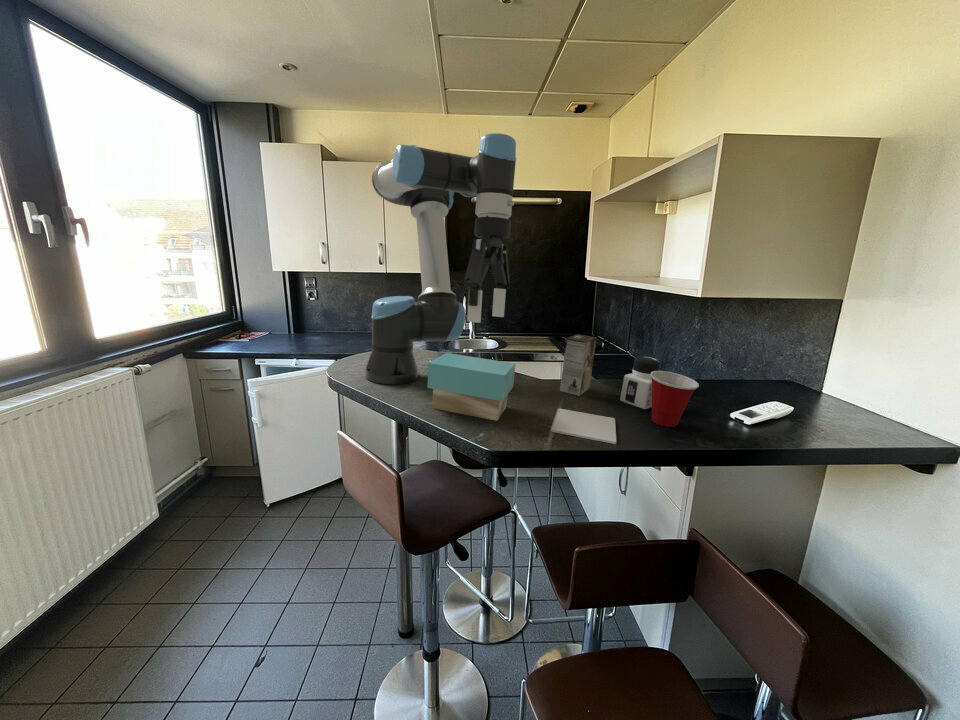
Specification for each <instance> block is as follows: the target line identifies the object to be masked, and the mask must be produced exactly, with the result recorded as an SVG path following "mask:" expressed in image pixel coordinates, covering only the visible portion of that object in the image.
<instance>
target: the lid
mask: <svg viewBox="0 0 960 720" xmlns="http://www.w3.org/2000/svg"><path fill="white" fill-rule="evenodd" d="M515 371H516V363H515V362H507V361H502V360H496V359H489V358H482V357H476V356H471V355H469V356H468V355H463V354H456V353H451V352H450V353H449V352H445V353H443V354H442V355H440V356H439V357H437V358H435V359H434V360H433V359H432V360H431V361H430V362H428V368H427V389H432V390H433V389H437V390H442V391H448V392H454V393H459V394H465V395H470V396H476V397H481V398H487V399H492V400H498V401H503V400H504V398H505V397H506V396H507V397H508V395H507V394H510V392H511V390H512V389H513V388H514V382H515Z"/></svg>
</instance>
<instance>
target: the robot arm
mask: <svg viewBox="0 0 960 720" xmlns="http://www.w3.org/2000/svg"><path fill="white" fill-rule="evenodd" d="M516 150H517V142H516V140H515V138H513V136H510V135H508V134H504V133H498V132H497V133H495V132H494V133H493V132H491V133H486V134H483V135H482V136H481V137H480V139H479V145H478V149H477V151H478V154H477V155H476V156H466V155H462V154H456V153H453V152H452V153H451V152H448V151H447V152H445V151H440V150H435V149H431V148H425V147H420V146H417V145H414V144H412V145H411V144H410V145H408V144H399V145H397V146H396V147H395V150H394V153H393V158H392V160H391V161H388V160H387V161H383V162H381V163H379V164H378V165H377V166H376V167H375V168H374V170H373V171H372V175H371V182H372V188H373V189H374V191H375V192H376V194H377V195H378V196H380V198H382V199H383V200H385V201H387V202H389V203H391V204H394V205H397V206H405V207H409V209H410V214H411V216H412V217H413V218H414V219H415V220H416V230H417V231H416V232H417V242H418V255H419V256H418V257H419V267H420V279H421V280H420V281H421V282H420V283H421V293H420V294H419V295H418V297H417V301H416V300H415V297H413V296H411V295H403V296H402V295H397V296H395V295H394V296H385V297H382V298H379V299H376V300H375V301H374V302H373V303H372V308H371V309H372V311H371V317H370V318H371V352H370V355H369V358H368V361H367V364H366V367H365V374H364V375H365V379H366V380H368V381H371V382H373V383H377V384H381V385H402V384H407V383H412V382H414V381H416V380H417V379H418V378H419V369H418V365H417V362H416V358H415V355H414V342H415V343H418V342H419V343H420V342H422V343H423V342H426V343H427V342H442V343H445V342H451V341H456V340H458V339H459V338H460V337H461V335H462V333H463V330H464V327H465V322H466V321H467V322H469V323H476V324H477V323H478V324H480V323H482V322H481V321H482V306H483V305H482V303H483V290H482V289H481V288H482V285H483V283H484V280H485V278H486V276H487V273H488V271H489V268H490V267H491V273H492V275H493V281H494V284H495V287H496V288H493V296H492V297H493V299H492V310H491V311H492V312H491V313H492V314H491V317H497V318H505V309H506V308H505V307H506V293H507V290H510V288H511V281H510V280H511V277H510V269H509V267H510V266H509V256H508V253H509V249H508V248H509V246H508V244H507V243H506V244H503V240H506V239H509V238H510V236H511V227H512V226H511V225H512V222H511V220H510V218H511V217H512V212H513V211H512V208H513V207H514V205H515V201H514V200H513V194H514V186H515V185H514V184H515V174H516V173H515V172H516V164H517V163H516V161H517V157H516V155H517V154H516V153H517V151H516ZM455 193H459V194H460V195H462V196H463V197H466V198H475V197H476V199H475V215H476V216H477V217H476V218H475V219H474V232H473V233H474V236H475V237H477V238H478V239H477V238H473V239H472V240H473V241H472V246H471V247H472V249H471V252H470V256H469V260H468V264H467V268H466V272H465V276H464V279H463V289H465V290H468V299H467V317H466V309H465V306H464V304H463V303H462V302H460V301H457V300H458V299H457V295H456V293H454V292H453V291H452V290H451V289H452V288H451V280H450V279H451V278H450V268H449V255H448V245H447V235H446V225H445V223H446V222H445V217H446V216H447V215H448V214H449V211H450V209H452V207H453V204H454V195H455ZM466 318H467V319H466Z"/></svg>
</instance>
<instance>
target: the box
mask: <svg viewBox="0 0 960 720" xmlns="http://www.w3.org/2000/svg"><path fill="white" fill-rule="evenodd" d="M508 394H509V393H508ZM508 394H507V396H506V397H505V398H504V400H503V401H498V400H492V399H487V398H481V397H476V396H470V395H465V394H459V393H454V392H448V391H442V390H437V389H432V402H431V406H432V407H431V408H432V409H434V410H439V411H440V410H441V411H445V412H451V413H456V414H459V415H460V414H462V415H466V416H471V417H475V418H481V419H485V420H492V421H495V422H496V421H498V420H499V419H500V417H501V416H502V414H503V413H504V411H505V410H506V408H507V406H508V405H507V402H508Z"/></svg>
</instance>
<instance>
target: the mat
mask: <svg viewBox="0 0 960 720" xmlns="http://www.w3.org/2000/svg"><path fill="white" fill-rule="evenodd" d="M555 411H556V412H555V415H554V417H553V420H552V424H551V427H550V430H549V432H550V433H551V432H552V433H556V434H561V435H567V436H571V437H572V436H573V437H576V438H582V439H587V440H592V441H595V442H596V441H598V442H602V443H609V444H611V445H612V444H613V445H617V431H616V430H617V429H616V418H615V417H609V416H604V415H599V414H593V413H588V412H581V411H577V410H571V409H565V408H558V407H557V408H556V410H555Z"/></svg>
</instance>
